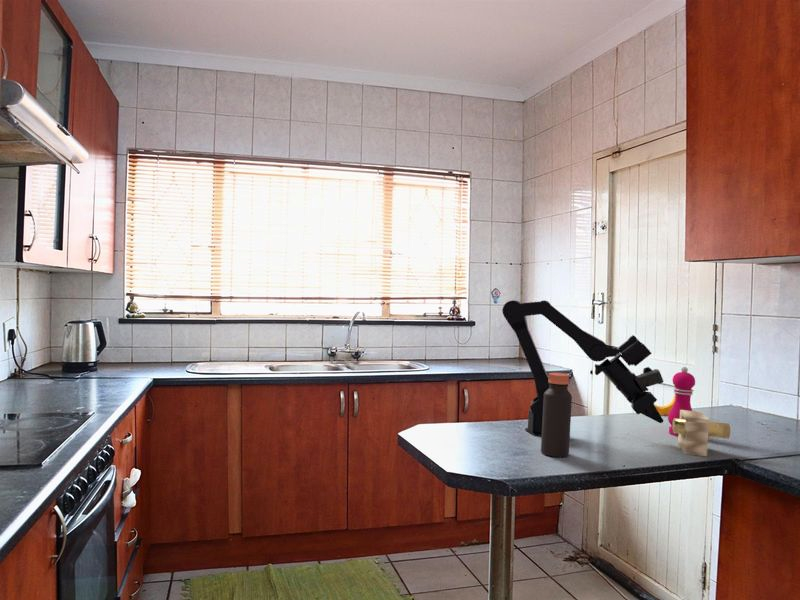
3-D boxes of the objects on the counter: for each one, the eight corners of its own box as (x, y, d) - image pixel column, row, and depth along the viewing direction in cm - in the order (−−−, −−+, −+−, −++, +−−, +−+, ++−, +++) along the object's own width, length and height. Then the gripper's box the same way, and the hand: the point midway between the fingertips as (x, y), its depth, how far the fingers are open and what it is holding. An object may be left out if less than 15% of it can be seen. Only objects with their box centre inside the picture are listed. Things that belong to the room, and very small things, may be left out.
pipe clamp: (643, 414, 196) (644, 395, 196) (641, 411, 201) (642, 393, 200) (681, 417, 193) (682, 398, 193) (678, 415, 197) (680, 396, 197)
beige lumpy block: (685, 453, 149) (687, 417, 149) (678, 443, 158) (680, 409, 158) (706, 456, 147) (709, 419, 147) (697, 446, 157) (700, 411, 157)
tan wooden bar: (674, 434, 152) (675, 419, 152) (672, 431, 156) (673, 416, 156) (729, 440, 149) (730, 425, 149) (725, 436, 152) (726, 421, 152)
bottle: (538, 449, 147) (542, 371, 147) (564, 450, 147) (569, 372, 146) (543, 457, 140) (548, 375, 140) (571, 458, 140) (576, 377, 140)
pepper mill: (697, 435, 170) (701, 367, 169) (689, 439, 164) (694, 369, 164) (671, 429, 174) (675, 364, 174) (663, 433, 169) (667, 366, 169)
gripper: (650, 362, 147) (694, 410, 144) (640, 354, 165) (680, 397, 162) (615, 390, 149) (658, 437, 147) (609, 379, 167) (647, 421, 164)
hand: (662, 422), depth 155 cm, fingers closed
